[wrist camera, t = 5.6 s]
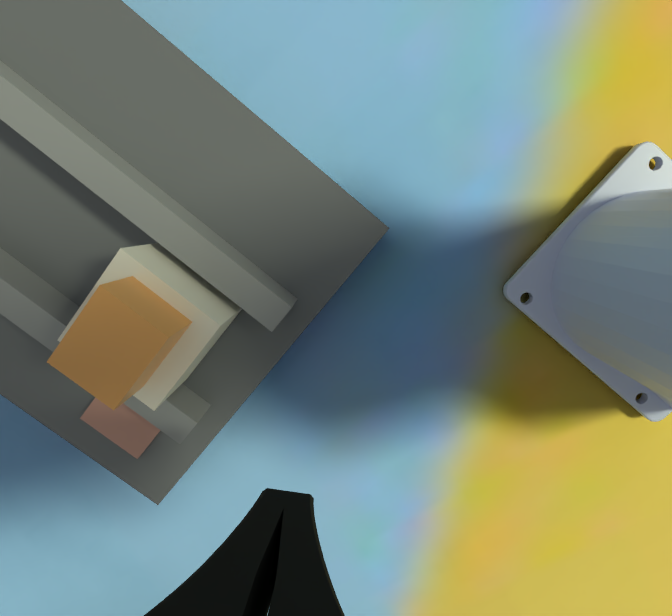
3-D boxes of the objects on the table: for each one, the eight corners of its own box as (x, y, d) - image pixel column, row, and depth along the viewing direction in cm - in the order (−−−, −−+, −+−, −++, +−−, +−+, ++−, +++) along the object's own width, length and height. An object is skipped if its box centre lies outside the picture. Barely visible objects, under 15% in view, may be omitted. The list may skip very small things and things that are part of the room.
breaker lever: (244, 306, 17) (201, 342, 12) (187, 378, 17) (126, 437, 13) (162, 242, 16) (85, 252, 12) (107, 318, 17) (15, 357, 12)
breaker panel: (385, 226, 18) (393, 229, 14) (176, 477, 21) (140, 530, 17) (49, -59, 16) (-37, -136, 13) (-126, 261, 19) (-234, 272, 16)
